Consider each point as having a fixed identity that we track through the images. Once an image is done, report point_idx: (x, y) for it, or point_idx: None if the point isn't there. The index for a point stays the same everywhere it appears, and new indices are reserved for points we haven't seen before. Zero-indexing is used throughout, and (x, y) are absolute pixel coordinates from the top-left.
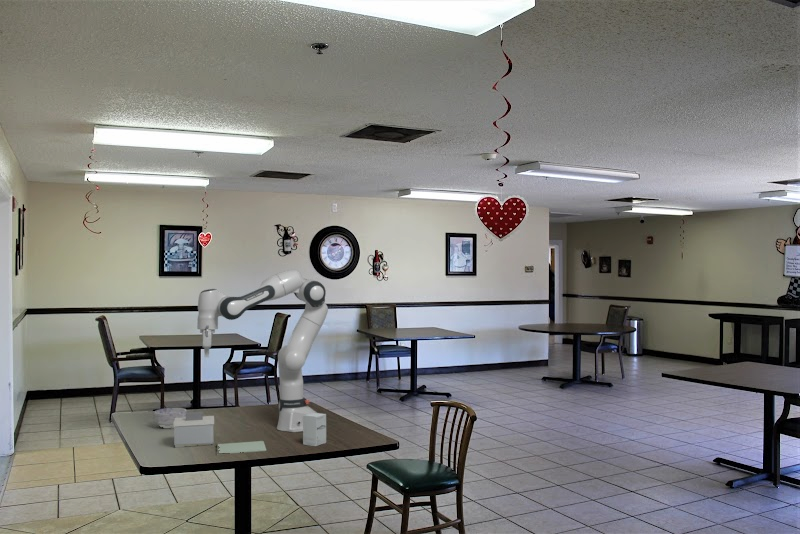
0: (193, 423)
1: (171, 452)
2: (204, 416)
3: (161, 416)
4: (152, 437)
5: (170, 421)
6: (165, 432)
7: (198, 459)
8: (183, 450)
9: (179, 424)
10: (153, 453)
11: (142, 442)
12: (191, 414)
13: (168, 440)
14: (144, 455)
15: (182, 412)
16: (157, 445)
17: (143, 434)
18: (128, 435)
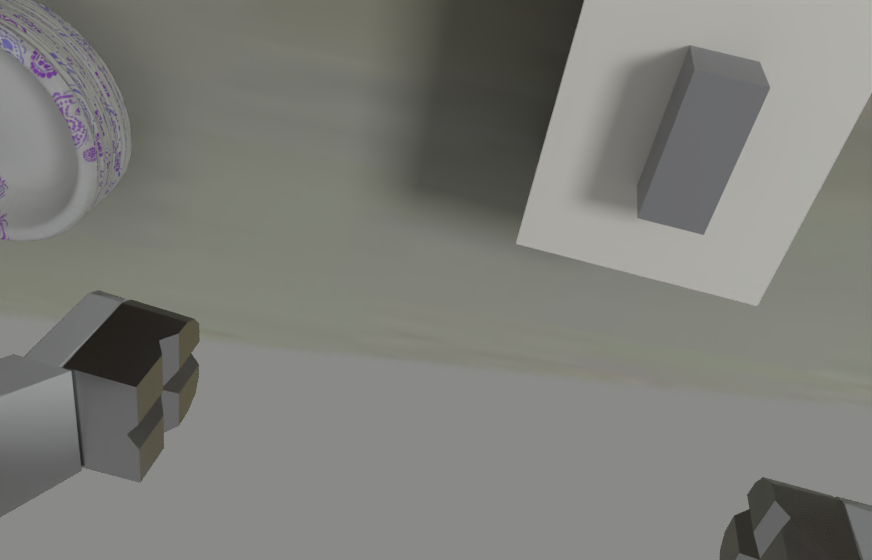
0: (830, 162)
1: (853, 243)
2: (593, 4)
3: (94, 204)
4: (345, 246)
5: (123, 133)
6: (225, 152)
7: None
8: (858, 169)
9: (776, 262)
10: (794, 328)
11: (457, 315)
12: (724, 184)
13: (482, 186)
14: (806, 372)
15: (36, 59)
16: (590, 268)
17: (240, 269)
18: (238, 334)
